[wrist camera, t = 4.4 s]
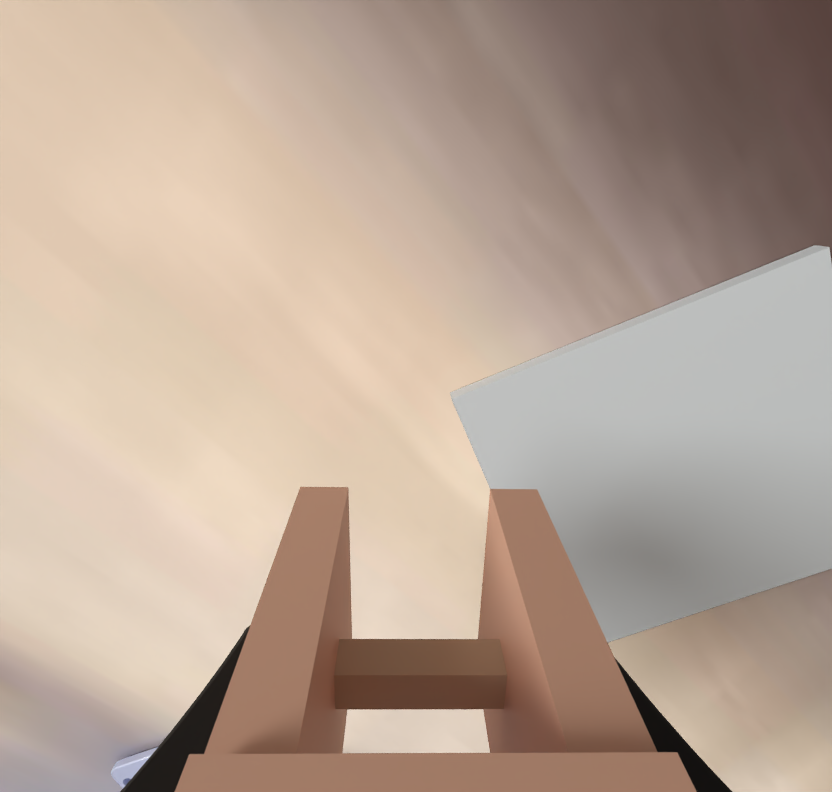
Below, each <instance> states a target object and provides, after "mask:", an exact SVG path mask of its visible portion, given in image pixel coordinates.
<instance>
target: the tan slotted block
mask: <svg viewBox="0 0 832 792" xmlns="http://www.w3.org/2000/svg"><path fill="white" fill-rule="evenodd" d="M347 709H484V716H485V722H486V729H487V735H488V742H489V748H490V753H349V754H342V751H343V742H344V733H345V724H346V715H347ZM175 792H697V791H696V789H695V787H694V785H693V783H692V781H691V779H690V777H689V775H688V773H687V771H686V769H685V767H684V765H683V763H682V761H681V759H680V757H679V755H678V753H677V752H657V750H656V747H655V745H654V743H653V741H652V739H651V737H650V734H649V732H648V730H647V728H646V726H645V723H644V721H643V719H642V717H641V715H640V713H639V710H638V708H637V706H636V704H635V702H634V699H633V697H632V695H631V693H630V691H629V689H628V686H627V684H626V682H625V680H624V678H623V675H622V673H621V671H620V669H619V667H618V665H617V662H616V660H615V658H614V656H613V654H612V651H611V649H610V647H609V645H608V643H607V641H606V638H605V636H604V634H603V632H602V630H601V627H600V625H599V623H598V621H597V619H596V617H595V614H594V612H593V610H592V608H591V606H590V603H589V601H588V599H587V597H586V595H585V593H584V590H583V588H582V586H581V584H580V582H579V579H578V577H577V575H576V573H575V571H574V569H573V566H572V564H571V562H570V560H569V558H568V555H567V553H566V551H565V549H564V547H563V545H562V542H561V540H560V538H559V536H558V534H557V531H556V529H555V527H554V525H553V523H552V521H551V518H550V516H549V514H548V512H547V510H546V507H545V505H544V503H543V501H542V499H541V497H540V494H539V492H538V490H537V489H490V499H489V511H488V523H487V535H486V548H485V560H484V572H483V584H482V596H481V609H480V621H479V633H478V639H352V622H351V580H350V539H349V497H348V487H300V490H299V492H298V495H297V498H296V501H295V503H294V506H293V509H292V512H291V515H290V517H289V520H288V523H287V526H286V528H285V531H284V534H283V537H282V539H281V542H280V545H279V548H278V551H277V553H276V556H275V559H274V562H273V564H272V567H271V570H270V573H269V575H268V578H267V581H266V584H265V587H264V589H263V592H262V595H261V598H260V600H259V603H258V606H257V609H256V611H255V614H254V617H253V620H252V622H251V625H250V628H249V631H248V634H247V636H246V639H245V642H244V645H243V647H242V650H241V653H240V656H239V658H238V661H237V664H236V667H235V670H234V672H233V675H232V678H231V681H230V683H229V686H228V689H227V692H226V694H225V697H224V700H223V703H222V706H221V708H220V711H219V714H218V717H217V719H216V722H215V725H214V728H213V730H212V733H211V736H210V739H209V741H208V744H207V747H206V750H205V753H204V754H189V756H188V759H187V761H186V764H185V767H184V769H183V772H182V774H181V777H180V779H179V782H178V785H177V787H176V790H175Z"/></svg>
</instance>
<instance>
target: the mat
mask: <svg viewBox="0 0 832 792" xmlns="http://www.w3.org/2000/svg"><path fill="white" fill-rule="evenodd" d="M450 395H451V399H452V401H453V404H454V406H455V408H456V411H457V413H458V415H459V418H460V420H461V422H462V424H463V427H464V429H465V431H466V434H467V436H468V438H469V441H470V443H471V445H472V448H473V450H474V452H475V455H476V457H477V459H478V462H479V464H480V466H481V468H482V471H483V473H484V475H485V478H486V480H487V482H488V485H489V487H490V489H537V490H538V492H539V494H540V497H541V499H542V501H543V503H544V505H545V507H546V510H547V512H548V514H549V516H550V518H551V521H552V523H553V525H554V527H555V529H556V531H557V534H558V536H559V538H560V540H561V542H562V545H563V547H564V549H565V551H566V553H567V555H568V558H569V560H570V562H571V564H572V566H573V569H574V571H575V573H576V575H577V577H578V579H579V582H580V584H581V586H582V588H583V590H584V593H585V595H586V597H587V599H588V601H589V603H590V606H591V608H592V610H593V612H594V614H595V617H596V619H597V621H598V623H599V625H600V627H601V630H602V632H603V634H604V636H605V638H606V641H607V643H608V642H611V641H614V640H617V639H620V638H623V637H626V636H629V635H632V634H635V633H638V632H641V631H644V630H647V629H650V628H653V627H656V626H659V625H662V624H665V623H668V622H671V621H674V620H677V619H681V618H684V617H687V616H690V615H693V614H696V613H699V612H702V611H705V610H708V609H711V608H714V607H717V606H720V605H723V604H726V603H729V602H732V601H735V600H738V599H741V598H744V597H747V596H750V595H753V594H756V593H759V592H762V591H765V590H768V589H771V588H774V587H777V586H780V585H783V584H786V583H789V582H793V581H796V580H799V579H802V578H805V577H808V576H811V575H814V574H817V573H820V572H823V571H826V570H829V569H832V263H831V256H830V249H829V247H824V246H816V245H814V246H812V247H809V248H807V249H804V250H802V251H799V252H797V253H794V254H792V255H789V256H787V257H784V258H782V259H779V260H777V261H774V262H772V263H769V264H767V265H765V266H762V267H760V268H757V269H755V270H752V271H750V272H747V273H745V274H742V275H740V276H737V277H735V278H732V279H730V280H727V281H725V282H722V283H720V284H717V285H715V286H713V287H710V288H708V289H705V290H703V291H700V292H698V293H695V294H693V295H690V296H688V297H685V298H683V299H680V300H678V301H675V302H673V303H670V304H668V305H665V306H663V307H660V308H658V309H656V310H653V311H651V312H648V313H646V314H643V315H641V316H638V317H636V318H633V319H631V320H628V321H626V322H623V323H621V324H618V325H616V326H613V327H611V328H608V329H606V330H604V331H601V332H599V333H596V334H594V335H591V336H589V337H586V338H584V339H581V340H579V341H576V342H574V343H571V344H569V345H566V346H564V347H561V348H559V349H556V350H554V351H552V352H549V353H547V354H544V355H542V356H539V357H537V358H534V359H532V360H529V361H527V362H524V363H522V364H519V365H517V366H514V367H512V368H509V369H507V370H504V371H502V372H499V373H497V374H495V375H492V376H490V377H487V378H485V379H482V380H480V381H477V382H475V383H472V384H470V385H467V386H465V387H462V388H460V389H457V390H455V391H452V392H450Z"/></svg>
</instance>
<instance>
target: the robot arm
mask: <svg viewBox="0 0 832 792" xmlns="http://www.w3.org/2000/svg"><path fill="white" fill-rule="evenodd" d="M249 628H250V626H249V627H248V628H246V630H245V631H244V633H243V634H242V636H241V637H240V639H239V640H238V642H237V643H236V645H235V646H234V648H233V649H232V651H231V652H230V654H229V655H228V656H227V658H226V659H225V661H224V662H223V663H222V665H221V666H220V668H219V669H218V671H217V672H216V673H215V675H214V676H213V677H212V679H211V680H210V681H209V683H208V684H207V686H206V687H205V688H204V690H203V691H202V692H201V694H200V695H199V696H198V697H197V699H196V700H195V701H194V703H193V704H192V705H191V706H190V708H189V709H188V710H187V712H186V713H185V714H184V716H183V717H182V718H181V719H180V721H179V722H178V723H177V725H176V726H175V727H174V728H173V730H172V731H171V732H170V733H169V735H168V736H167V737H166V738H165V740H164V741H163V742H162V743H161V744H160V746H159V747H156V748H153V749H151V750H148V751H145V752H142V753H139V754H136V755H133V756H130V757H127V758H124V759H121V760H119V761H117V762H116V763H115V765H114V767H113V769H112V771H111V775H112V777H113V778H114V779H115V781H116V782H117V783H118V784H119V785H120V786H121V787H122V788H123V789H122V790H121V791H120V792H175V790H176V787H177V785H178V782H179V779H180V777H181V774H182V772H183V769H184V767H185V764H186V761H187V759H188V756H189V754H204V753H205V750H206V747H207V744H208V741H209V739H210V736H211V733H212V730H213V728H214V725H215V722H216V719H217V717H218V714H219V711H220V708H221V706H222V703H223V700H224V697H225V694H226V692H227V689H228V686H229V683H230V681H231V678H232V675H233V672H234V670H235V667H236V664H237V661H238V658H239V656H240V653H241V650H242V647H243V645H244V642H245V639H246V636H247V634H248V631H249ZM614 658H615V657H614ZM615 660H616V659H615ZM616 662H617V665H618V667H619V669H620V671H621V673H622V675H623V678H624V680H625V682H626V684H627V686H628V689H629V691H630V693H631V695H632V697H633V699H634V702H635V704H636V706H637V708H638V710H639V713H640V715H641V717H642V719H643V721H644V723H645V726H646V728H647V730H648V732H649V734H650V737H651V739H652V741H653V743H654V745H655V747H656V750H657V752H677V753H678V755H679V757H680V759H681V761H682V763H683V765H684V767H685V769H686V771H687V773H688V775H689V777H690V779H691V781H692V783H693V785H694V787H695V789H696V791H697V792H732V791H731V790H730V789H729V788H728V787H727V786H726V785H725V784H724V783H723V782H722V781H721V779H720V778H719V777H718V776H717V775H716V774H715V773H714V772H713V771H712V770H711V769H710V768H709V767H708V766H707V765H706V763H705V762H704V761H703V760H702V759H701V758H700V757H699V756H698V755H697V754H696V753H695V751H694V750H693V749H692V748H691V747H690V746H689V745H688V744H687V743H686V741H685V740H684V739H683V738H682V737H681V736H680V735H679V733H678V732H677V731H676V730H675V729H674V728H673V727H672V725H671V724H670V723H669V722H668V721H667V720H666V719H665V717H664V716H663V715H662V714H661V713H660V712H659V711H658V709H657V708H656V707H655V706H654V705H653V704H652V702H651V701H650V700H649V699H648V698H647V696H646V695H645V694H644V693H643V692H642V690H641V689H640V688H639V687H638V686H637V684H636V683H635V682H634V681H633V680H632V678H631V677H630V676H629V675H628V673H627V672H626V671H625V670H624V669H623V667H622V666H621V665H620V664H619V662H618V661H617V660H616Z"/></svg>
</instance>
